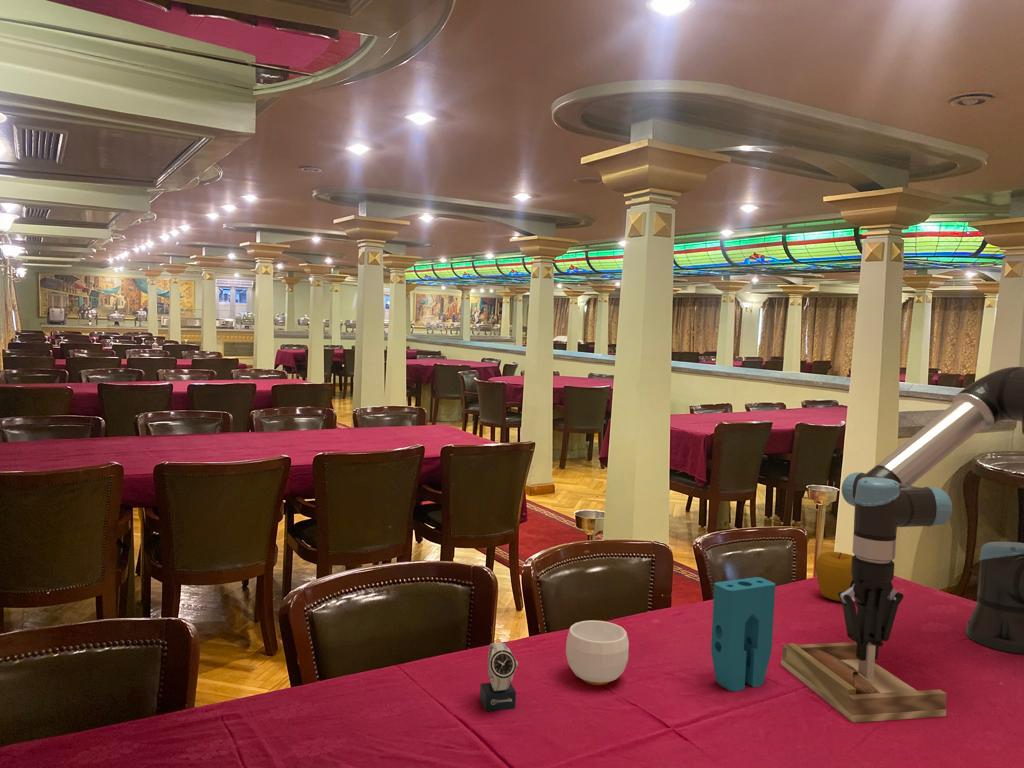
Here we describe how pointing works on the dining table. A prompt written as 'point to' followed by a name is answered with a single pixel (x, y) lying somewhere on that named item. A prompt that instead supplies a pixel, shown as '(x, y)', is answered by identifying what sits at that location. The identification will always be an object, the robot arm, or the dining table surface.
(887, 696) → the rail board
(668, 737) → the dining table surface
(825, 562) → the apple
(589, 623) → the cup
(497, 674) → the watch
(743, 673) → the block
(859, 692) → the sunglasses case
